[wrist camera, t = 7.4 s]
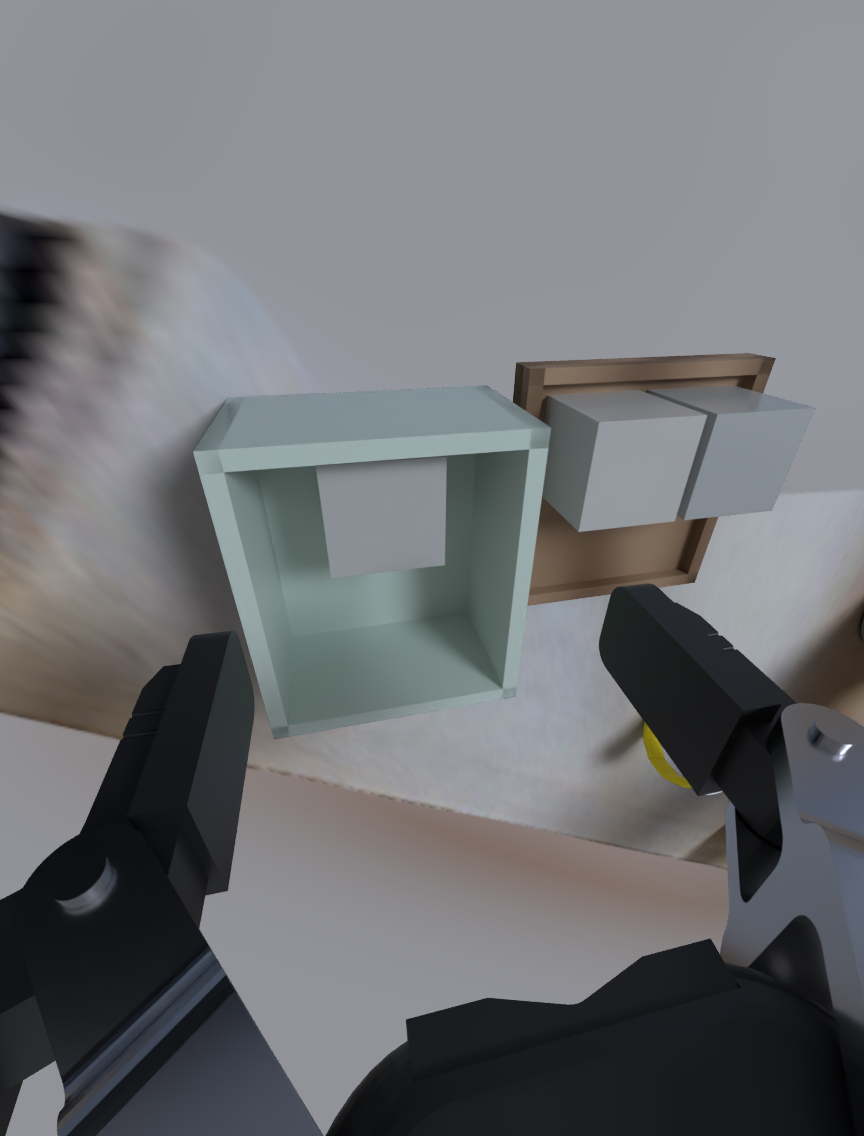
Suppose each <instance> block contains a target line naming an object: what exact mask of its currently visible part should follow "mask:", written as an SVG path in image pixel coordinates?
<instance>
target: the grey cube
mask: <svg viewBox="0 0 864 1136" xmlns="http://www.w3.org/2000/svg"><path fill="white" fill-rule="evenodd" d="M316 472H317V479H318V486H319V493H320V501H321V508H322V515H323V522H324V530H325V537H326V544H327V551H328V559H329V566H330V573H331V578H338V577H347V576H356V575H364V574H373V573H382V572H390V571H399V570H408V569H416V568H425V567H434V566H442V565H445V530H446V475H447V456H434V457H421V458H407V459H394V460H381V461H368V462H354V463H341V464H328V465H316Z"/></svg>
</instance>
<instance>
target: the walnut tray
mask: <svg viewBox="0 0 864 1136" xmlns="http://www.w3.org/2000/svg"><path fill="white" fill-rule="evenodd" d="M774 361H775V358H771V357H766V356H761V355H755V354H750V353H744V354H719V355H695V356H669V357H646V358H645V357H644V358H619V359H594V360H570V361H544V362H519V363H516V372H515V385H514V395H513V403H514V404H516V405H518V406H519V407H521V408H522V409H524V410H525V411H527V412H528V413H530V414H531V415H533V416H534V417H536V418H537V419H539V420H541V421H542V422H544V419H545V411H546V403H547V395H558V394H576V393H595V392H614V391H632V390H640V391H643V392H645V393H647V391H648V390H651V389H670V388H688V387H707V386H726V385H733V386H737V387H741V388H744V389H748V390H752V391H755V392H759V393H763V391H764V389H765V386H766V383H767V380H768V377H769V375H770V372H771V370H772V367H773V364H774ZM717 519H718V517H709V518H700V519H691V520H683V519H681V518H680V517H678V516H677V515H676V519H675V521H673V522H664V523H655V524H646V525H637V526H628V527H619V528H610V529H602V530H593V531H584V532H578V531H577V530H576V529H575V528H574V527H573V526H572V525H571V524H570V523H569V522H568V521H567V520H566V519H565V518H564V517H563V516H562V515H561V514H560V513H559V512H558V511H557V510H556V509H555V508H554V507H552V506H551V505H550V504H549V503H548V502H547V501H546V500H545V499H544V498H543V497H542V500H541V508H540V515H539V523H538V530H537V538H536V545H535V552H534V560H533V567H532V575H531V582H530V590H529V597H528V605H536V604H543V603H550V602H557V601H564V600H572V599H579V598H586V597H593V596H601V595H608V594H611V593H612V591H613V590H614V589H615V588H616V587H620V586H628V585H637V584H645V583H651V584H654V585H655V586H657V587H665V586H673V585H680V584H687V583H694V582H695V580H696V577H697V574H698V571H699V569H700V566H701V563H702V560H703V558H704V555H705V552H706V549H707V547H708V544H709V541H710V538H711V535H712V533H713V530H714V527H715V524H716V522H717ZM528 605H527V606H528Z"/></svg>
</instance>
